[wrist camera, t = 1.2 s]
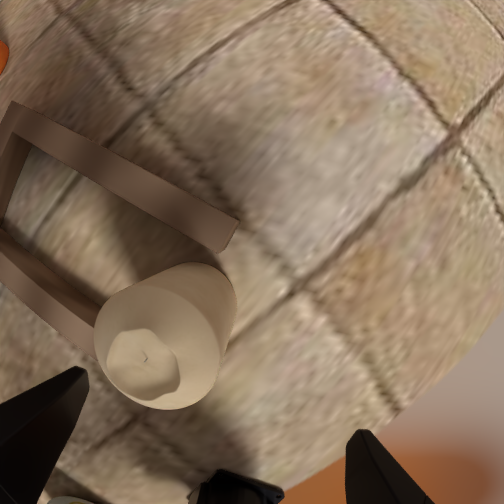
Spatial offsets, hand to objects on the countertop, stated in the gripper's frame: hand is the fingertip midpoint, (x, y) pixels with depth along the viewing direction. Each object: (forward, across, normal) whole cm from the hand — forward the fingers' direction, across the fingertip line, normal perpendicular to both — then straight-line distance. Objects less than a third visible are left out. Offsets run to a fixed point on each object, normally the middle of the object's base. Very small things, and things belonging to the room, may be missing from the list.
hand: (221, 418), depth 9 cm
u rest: (+12, +11, +1) cm, 17 cm away
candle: (+12, +3, +3) cm, 12 cm away
